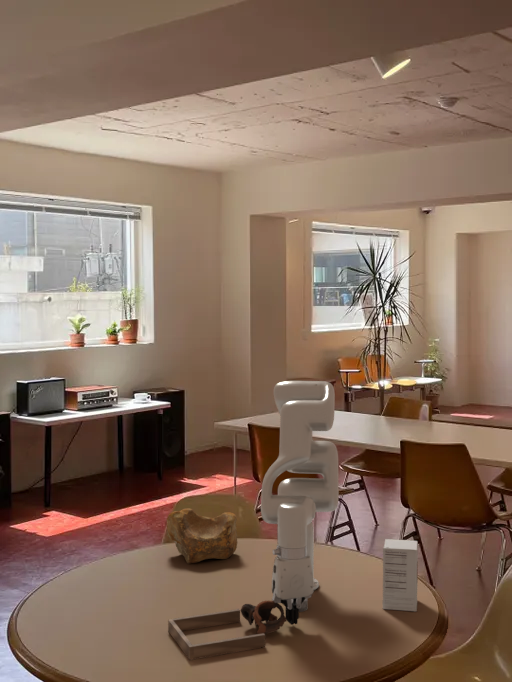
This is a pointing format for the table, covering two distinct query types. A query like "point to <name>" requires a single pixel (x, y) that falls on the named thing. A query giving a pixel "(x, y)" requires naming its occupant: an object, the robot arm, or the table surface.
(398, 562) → the supplement box
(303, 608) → the grey tin
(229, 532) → the rough brown rock
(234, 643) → the display frame
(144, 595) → the table surface
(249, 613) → the pottery mug
